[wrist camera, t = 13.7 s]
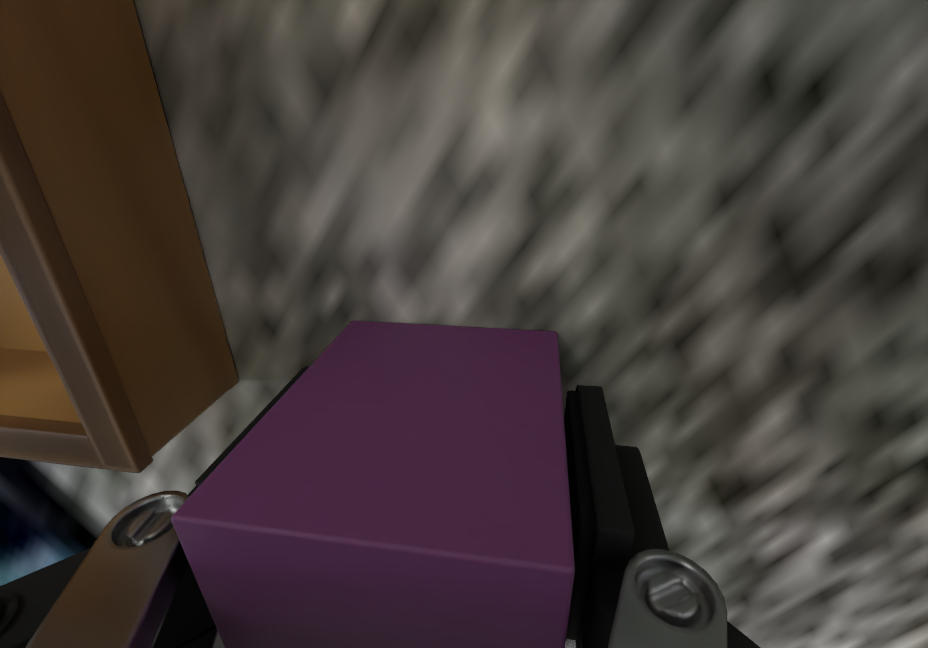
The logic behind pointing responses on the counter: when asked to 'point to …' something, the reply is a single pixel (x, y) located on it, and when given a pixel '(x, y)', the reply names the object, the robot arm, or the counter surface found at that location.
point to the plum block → (396, 499)
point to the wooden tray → (96, 247)
